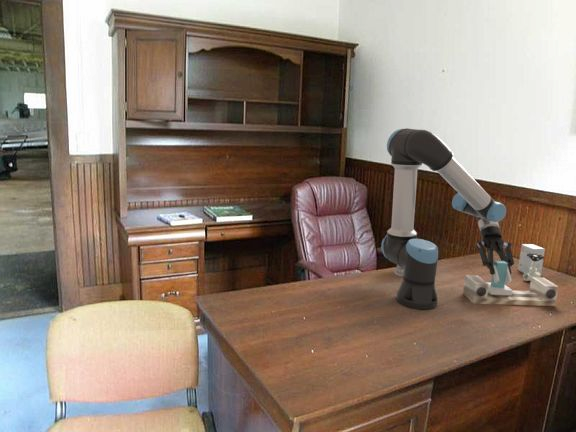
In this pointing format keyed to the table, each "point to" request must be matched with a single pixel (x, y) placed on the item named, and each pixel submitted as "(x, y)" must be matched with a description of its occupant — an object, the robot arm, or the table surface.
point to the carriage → (500, 286)
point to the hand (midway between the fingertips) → (503, 281)
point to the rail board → (537, 295)
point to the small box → (526, 261)
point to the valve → (533, 267)
